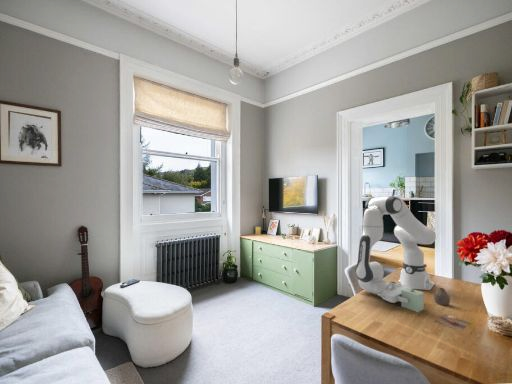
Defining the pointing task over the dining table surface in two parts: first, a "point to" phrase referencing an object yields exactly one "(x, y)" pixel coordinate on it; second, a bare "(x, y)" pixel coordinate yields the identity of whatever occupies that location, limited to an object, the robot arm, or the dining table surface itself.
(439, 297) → the brown rounded lump
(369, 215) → the robot arm
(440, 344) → the dining table surface
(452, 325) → the board
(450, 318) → the bowl
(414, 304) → the mint green lunchbox
